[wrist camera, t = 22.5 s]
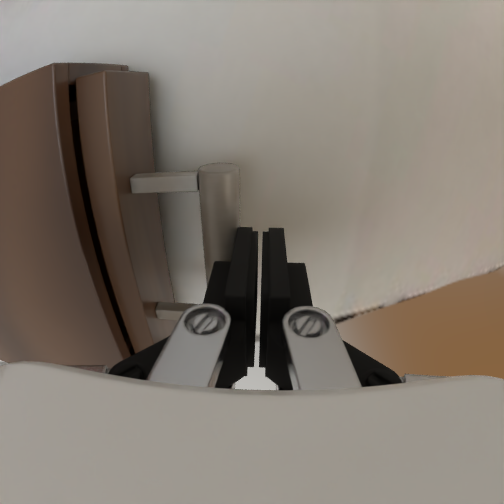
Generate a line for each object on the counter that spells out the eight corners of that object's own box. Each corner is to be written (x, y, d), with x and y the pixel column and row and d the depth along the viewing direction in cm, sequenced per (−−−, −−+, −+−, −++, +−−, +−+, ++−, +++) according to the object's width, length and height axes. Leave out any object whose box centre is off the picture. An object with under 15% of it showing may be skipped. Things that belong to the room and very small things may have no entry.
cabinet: (129, 65, 11) (54, 62, 6) (166, 329, 19) (142, 400, 14) (-40, 125, 11) (-97, 151, 6) (14, 307, 19) (-19, 352, 14)
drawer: (244, 64, 10) (234, 53, 7) (246, 338, 17) (242, 391, 14) (-32, 128, 11) (-75, 146, 7) (24, 312, 18) (0, 345, 15)
